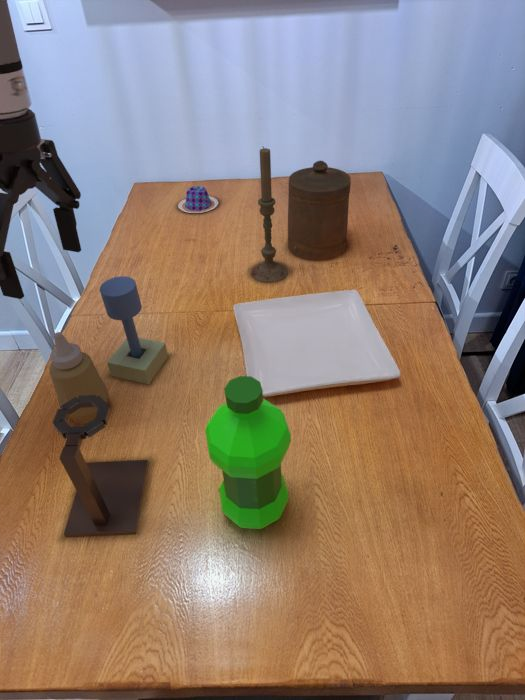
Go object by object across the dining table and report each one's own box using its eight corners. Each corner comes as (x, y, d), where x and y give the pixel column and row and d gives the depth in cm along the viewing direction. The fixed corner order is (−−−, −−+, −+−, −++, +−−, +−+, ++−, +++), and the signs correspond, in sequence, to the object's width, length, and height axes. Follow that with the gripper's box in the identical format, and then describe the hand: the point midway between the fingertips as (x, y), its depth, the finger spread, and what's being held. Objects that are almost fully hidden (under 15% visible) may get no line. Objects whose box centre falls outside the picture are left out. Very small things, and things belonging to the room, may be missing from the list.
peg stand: (86, 467, 78) (51, 393, 67) (149, 463, 78) (125, 389, 66) (66, 538, 69) (21, 467, 58) (137, 535, 69) (106, 463, 57)
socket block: (112, 377, 93) (106, 362, 90) (133, 350, 99) (128, 335, 96) (149, 386, 91) (145, 370, 88) (168, 358, 96) (165, 342, 94)
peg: (119, 375, 93) (92, 293, 81) (135, 354, 98) (111, 274, 85) (147, 381, 92) (124, 298, 79) (161, 360, 96) (142, 278, 83)
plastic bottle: (224, 476, 75) (205, 357, 59) (293, 481, 74) (293, 360, 58) (213, 538, 68) (187, 421, 51) (289, 544, 67) (287, 426, 50)
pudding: (223, 199, 150) (221, 182, 147) (211, 216, 142) (209, 199, 138) (186, 196, 153) (184, 180, 149) (172, 214, 144) (169, 197, 140)
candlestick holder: (253, 263, 122) (245, 138, 102) (290, 264, 120) (289, 138, 101) (247, 283, 115) (238, 154, 95) (286, 285, 114) (284, 154, 94)
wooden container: (347, 234, 130) (353, 150, 116) (344, 264, 120) (351, 175, 105) (291, 232, 133) (291, 149, 118) (284, 260, 122) (282, 173, 107)
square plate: (251, 410, 85) (250, 395, 83) (233, 316, 106) (232, 302, 103) (400, 388, 88) (403, 373, 85) (355, 300, 108) (356, 286, 105)
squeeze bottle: (64, 434, 83) (26, 356, 71) (68, 400, 89) (33, 322, 77) (112, 425, 84) (83, 347, 72) (113, 392, 90) (86, 314, 78)
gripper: (-57, 145, 47) (9, 325, 60) (86, 91, 65) (113, 237, 79) (-121, 137, 48) (-42, 314, 61) (38, 86, 67) (71, 230, 80)
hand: (45, 271), depth 70 cm, fingers open, 13 cm apart
